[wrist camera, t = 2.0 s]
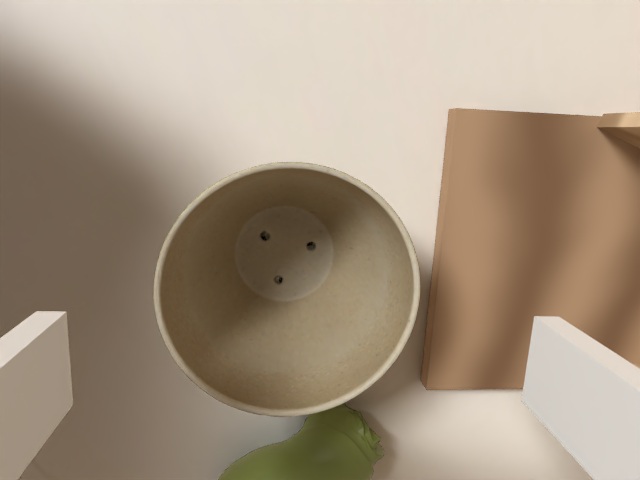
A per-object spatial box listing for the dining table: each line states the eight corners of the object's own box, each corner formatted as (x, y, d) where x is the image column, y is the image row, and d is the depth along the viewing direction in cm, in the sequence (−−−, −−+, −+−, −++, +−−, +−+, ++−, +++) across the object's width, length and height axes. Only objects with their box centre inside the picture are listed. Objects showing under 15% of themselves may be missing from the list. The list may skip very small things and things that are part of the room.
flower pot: (409, 285, 26) (461, 343, 19) (246, 370, 26) (239, 458, 19) (326, 116, 23) (351, 111, 16) (147, 211, 23) (96, 245, 17)
